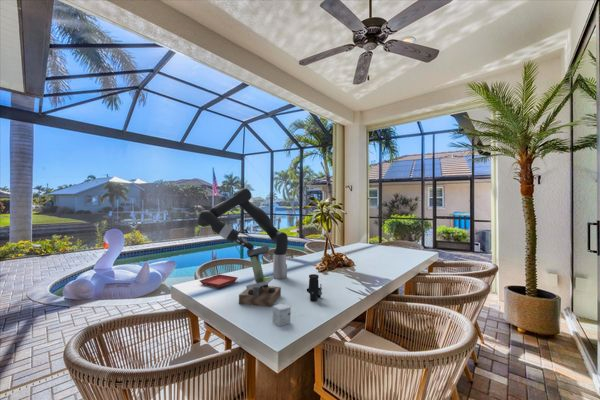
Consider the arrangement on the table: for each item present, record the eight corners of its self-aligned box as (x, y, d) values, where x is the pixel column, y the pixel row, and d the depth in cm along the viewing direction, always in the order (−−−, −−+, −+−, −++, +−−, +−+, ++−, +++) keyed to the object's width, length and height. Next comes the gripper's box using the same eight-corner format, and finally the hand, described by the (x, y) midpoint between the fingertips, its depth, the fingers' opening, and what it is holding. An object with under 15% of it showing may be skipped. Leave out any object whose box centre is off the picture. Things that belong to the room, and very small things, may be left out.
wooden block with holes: (238, 304, 140) (239, 287, 140) (251, 292, 158) (252, 277, 158) (270, 307, 137) (271, 289, 137) (280, 295, 154) (280, 280, 154)
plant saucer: (198, 285, 173) (198, 280, 173) (218, 278, 189) (219, 273, 189) (219, 289, 164) (219, 284, 164) (238, 282, 180) (238, 277, 180)
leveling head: (246, 292, 142) (237, 252, 144) (256, 284, 155) (247, 248, 156) (272, 287, 139) (263, 246, 141) (279, 280, 152) (271, 243, 153)
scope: (322, 273, 153) (320, 277, 143) (322, 297, 152) (320, 303, 143) (308, 272, 154) (305, 276, 145) (308, 295, 154) (305, 302, 144)
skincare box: (279, 326, 115) (279, 309, 115) (272, 321, 120) (272, 305, 120) (290, 323, 119) (291, 306, 119) (283, 318, 124) (283, 302, 124)
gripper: (231, 228, 148) (256, 244, 149) (234, 227, 162) (256, 241, 163) (223, 240, 147) (248, 255, 148) (227, 238, 161) (250, 252, 162)
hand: (252, 248), depth 156 cm, fingers open, 7 cm apart
